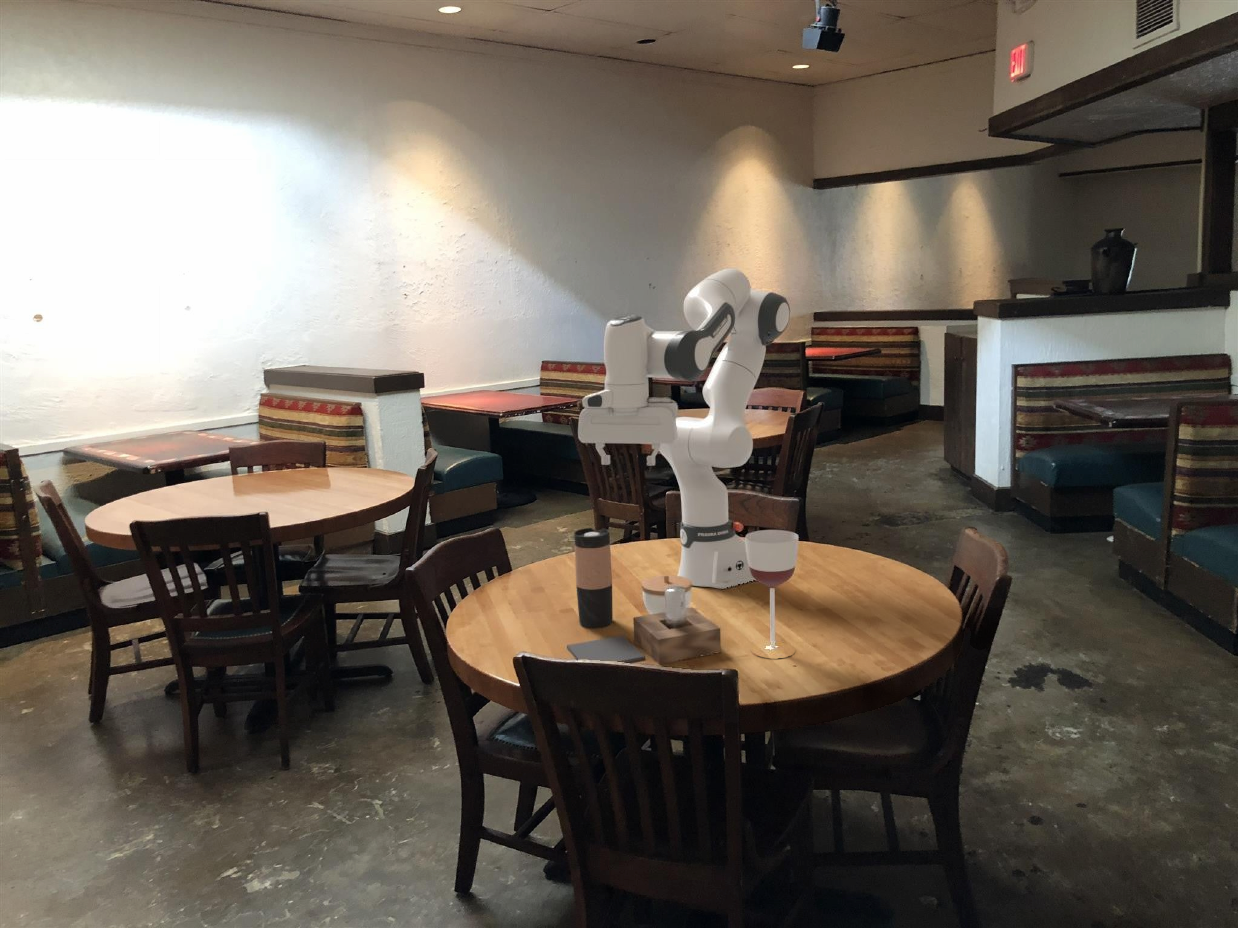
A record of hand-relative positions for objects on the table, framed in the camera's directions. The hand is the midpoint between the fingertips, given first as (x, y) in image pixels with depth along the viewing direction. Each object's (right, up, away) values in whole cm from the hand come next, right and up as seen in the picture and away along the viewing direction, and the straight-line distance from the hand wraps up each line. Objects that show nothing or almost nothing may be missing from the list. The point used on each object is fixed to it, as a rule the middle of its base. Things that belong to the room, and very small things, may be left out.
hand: (628, 464), depth 191 cm
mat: (-5, -37, -8) cm, 38 cm away
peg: (+9, -36, -6) cm, 38 cm away
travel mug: (-7, -34, +10) cm, 36 cm away
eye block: (+9, -36, -6) cm, 38 cm away
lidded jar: (+9, -33, +11) cm, 36 cm away
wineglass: (+28, -36, -9) cm, 47 cm away
